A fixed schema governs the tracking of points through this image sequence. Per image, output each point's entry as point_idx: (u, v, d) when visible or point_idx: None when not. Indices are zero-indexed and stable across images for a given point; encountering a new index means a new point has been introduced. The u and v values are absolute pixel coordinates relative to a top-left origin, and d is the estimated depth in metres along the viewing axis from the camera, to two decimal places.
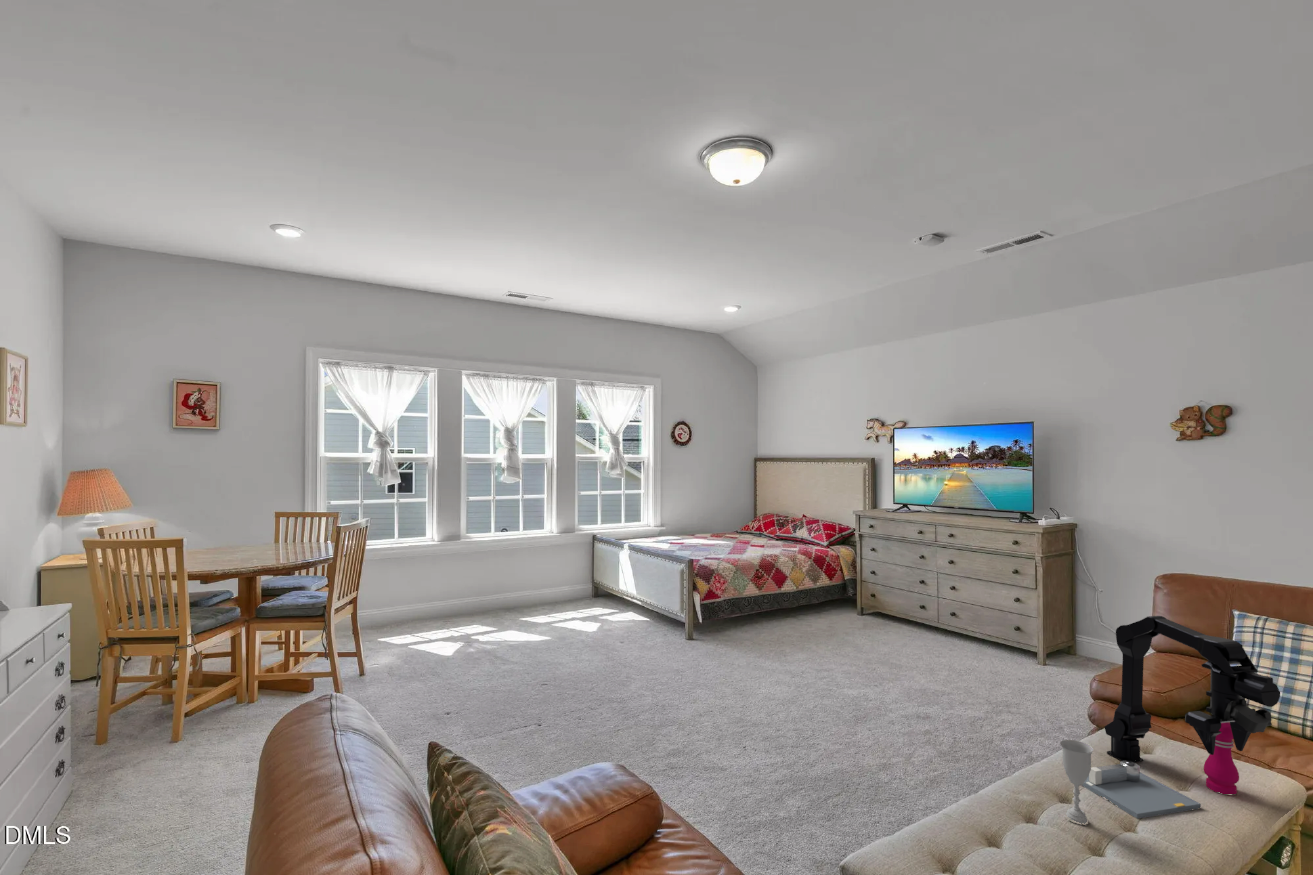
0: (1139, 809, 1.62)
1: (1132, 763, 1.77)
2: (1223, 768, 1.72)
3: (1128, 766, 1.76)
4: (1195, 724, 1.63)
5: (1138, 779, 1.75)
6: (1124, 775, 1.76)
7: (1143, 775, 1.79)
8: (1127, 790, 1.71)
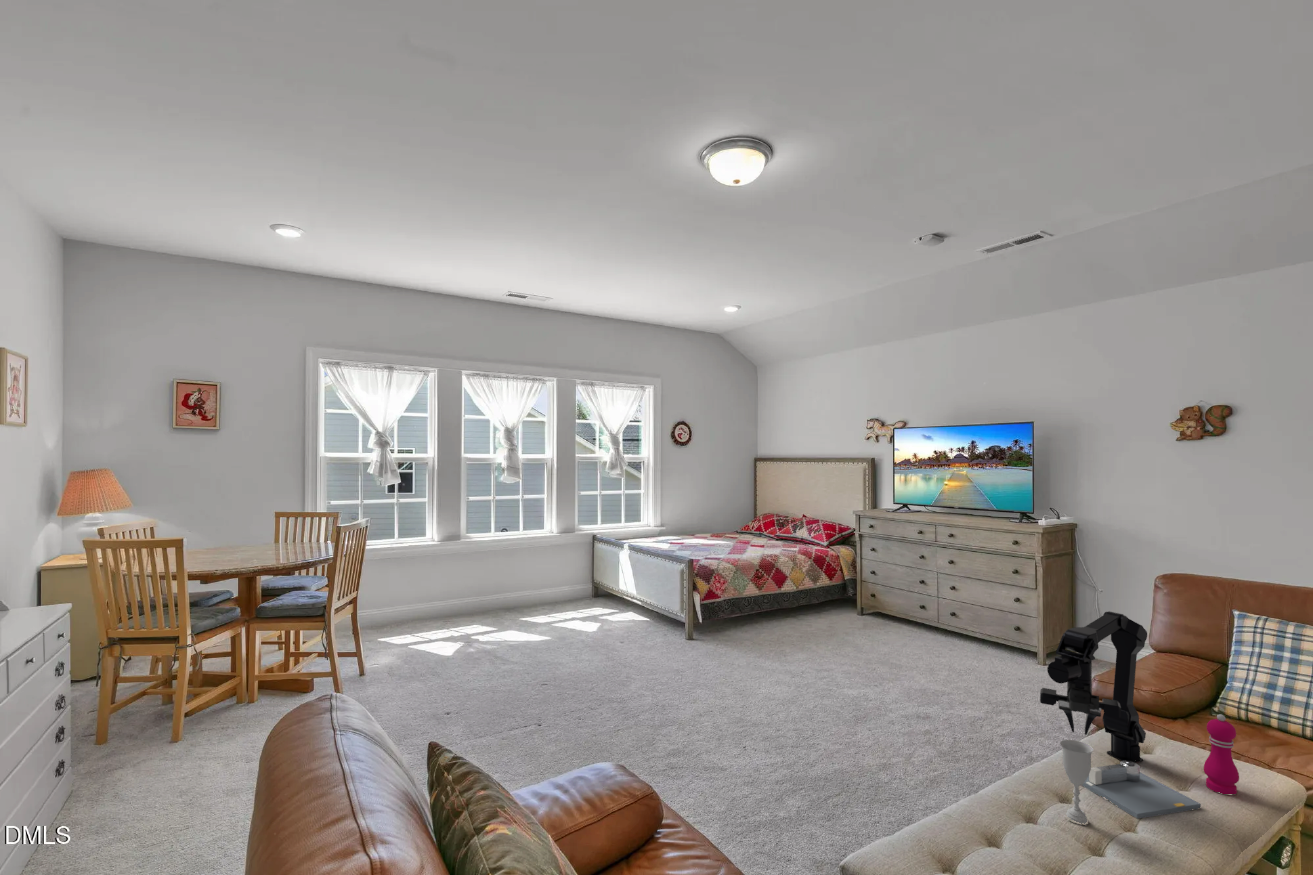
0: (1139, 809, 1.62)
1: (1132, 763, 1.77)
2: (1223, 768, 1.72)
3: (1128, 766, 1.76)
4: None
5: (1138, 779, 1.75)
6: (1124, 775, 1.76)
7: (1143, 775, 1.79)
8: (1127, 790, 1.71)
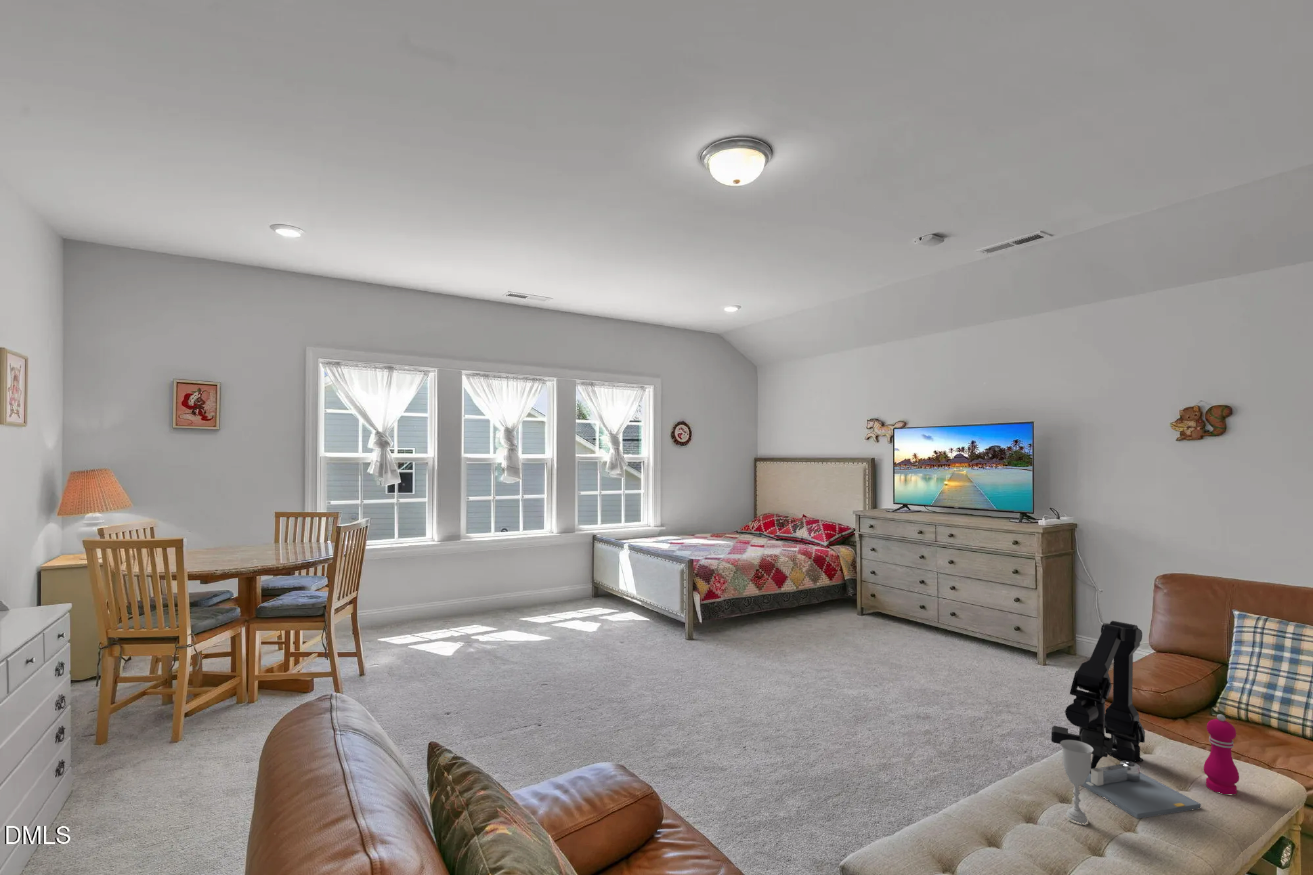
0: (1139, 809, 1.62)
1: (1132, 763, 1.77)
2: (1223, 768, 1.72)
3: (1128, 766, 1.76)
4: None
5: (1138, 779, 1.75)
6: (1124, 775, 1.76)
7: (1143, 775, 1.79)
8: (1127, 790, 1.71)
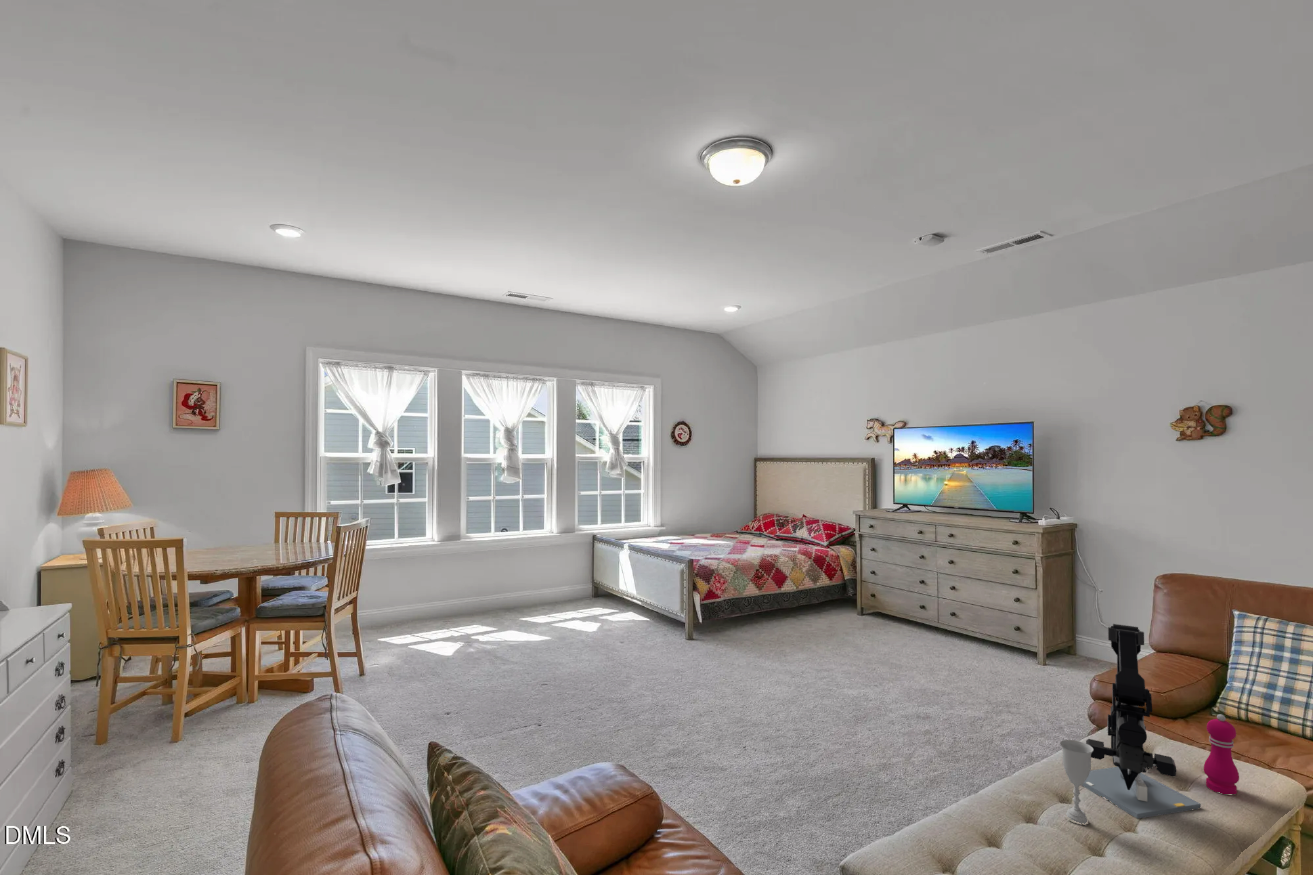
0: (1139, 809, 1.62)
1: None
2: (1223, 768, 1.72)
3: None
4: None
5: None
6: None
7: (1143, 775, 1.79)
8: (1127, 790, 1.71)
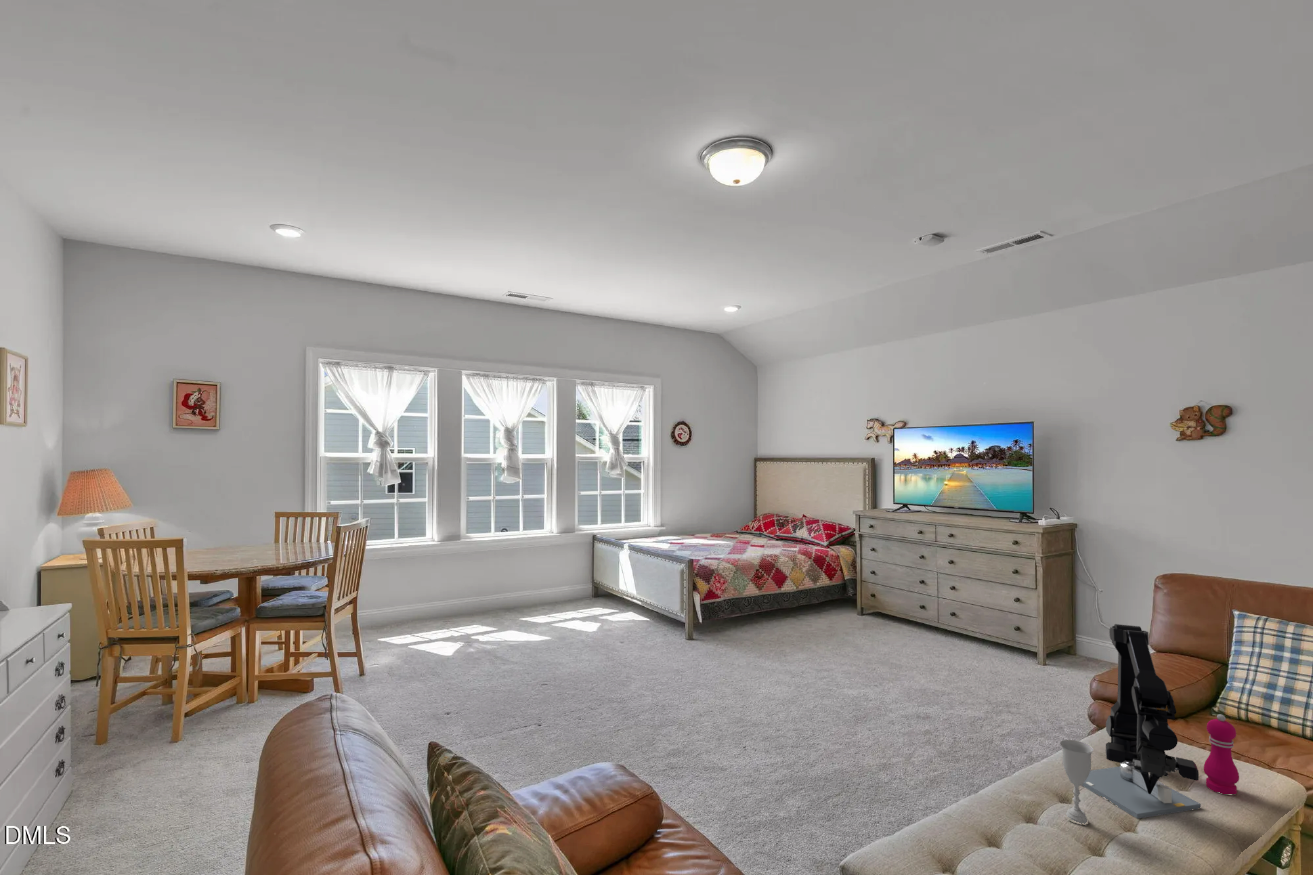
0: (1139, 809, 1.62)
1: (1131, 762, 1.78)
2: (1223, 768, 1.72)
3: None
4: None
5: None
6: None
7: None
8: (1127, 790, 1.71)
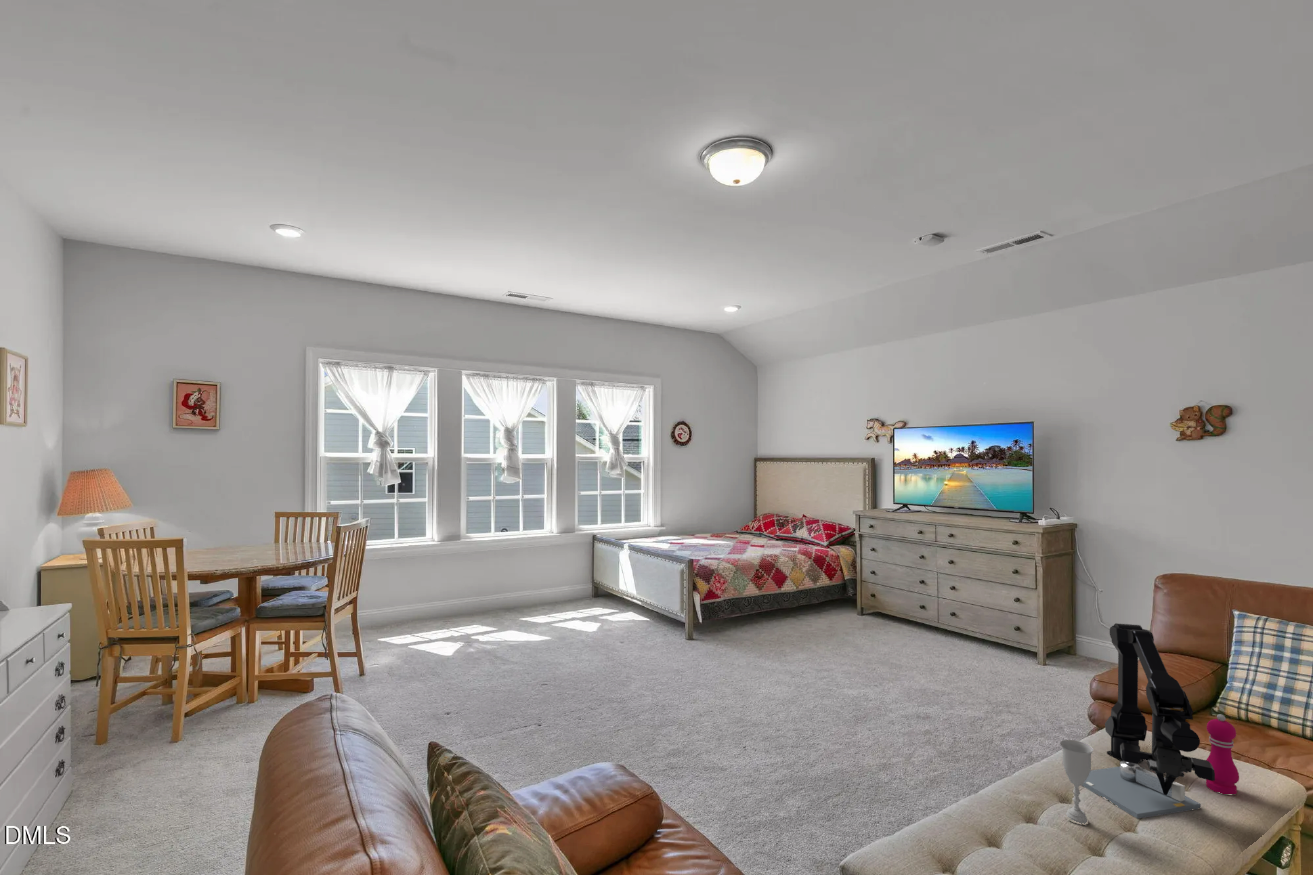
0: (1139, 809, 1.62)
1: None
2: (1223, 768, 1.72)
3: (1137, 766, 1.76)
4: None
5: None
6: None
7: None
8: (1127, 790, 1.71)
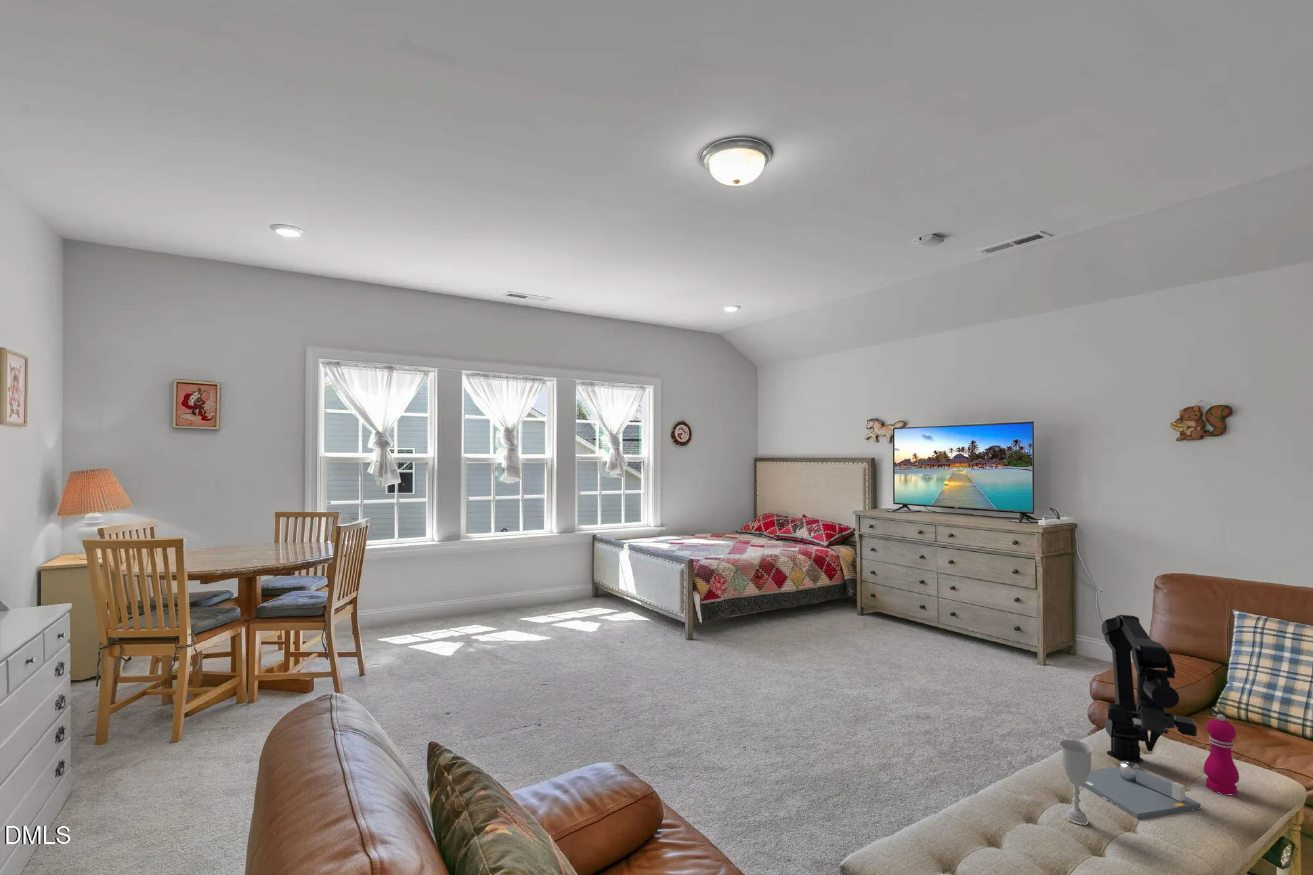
0: (1139, 809, 1.62)
1: (1130, 761, 1.78)
2: (1223, 768, 1.72)
3: (1137, 766, 1.76)
4: (1107, 713, 1.78)
5: None
6: None
7: None
8: (1127, 790, 1.71)
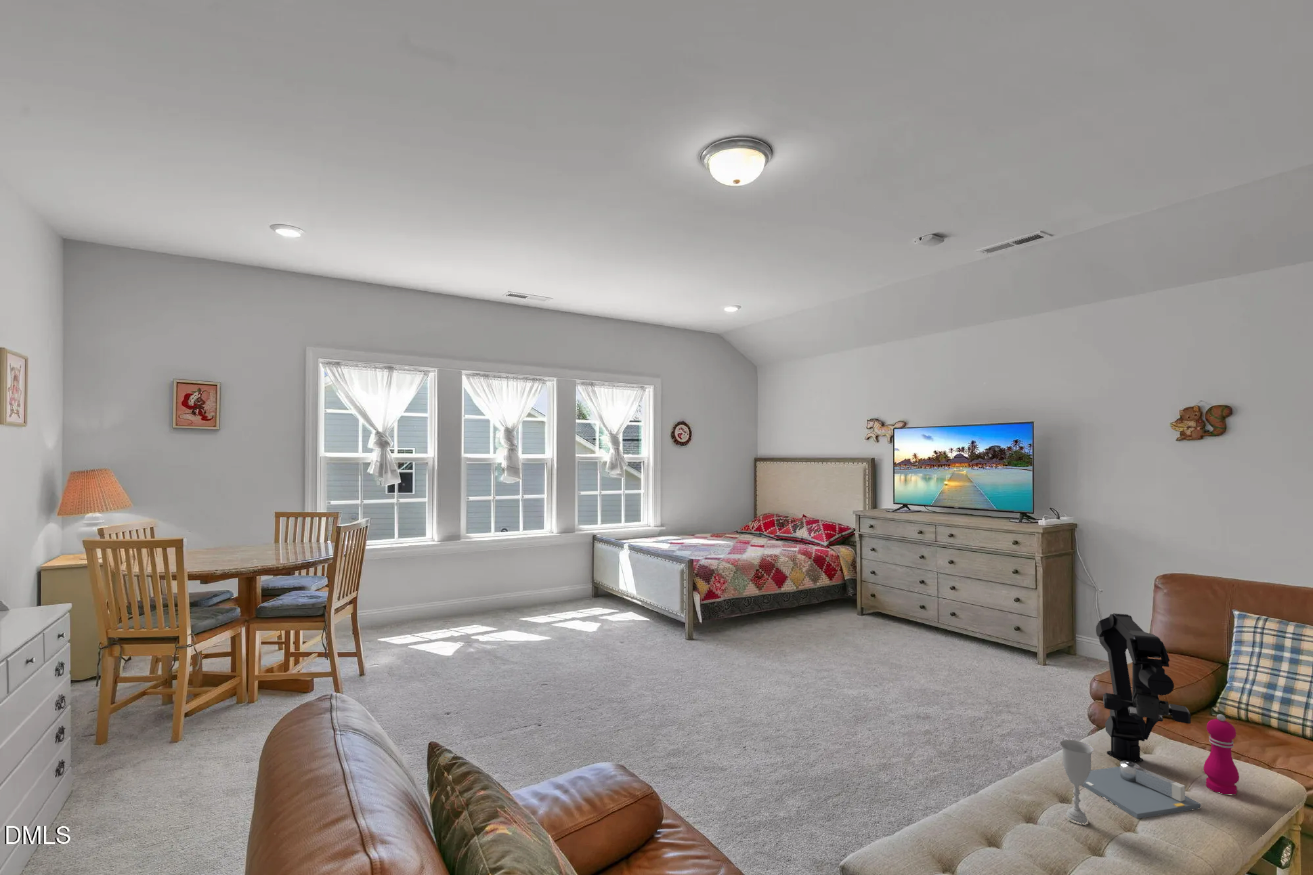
0: (1139, 809, 1.62)
1: (1130, 761, 1.78)
2: (1223, 768, 1.72)
3: (1137, 766, 1.76)
4: None
5: None
6: None
7: None
8: (1127, 790, 1.71)
